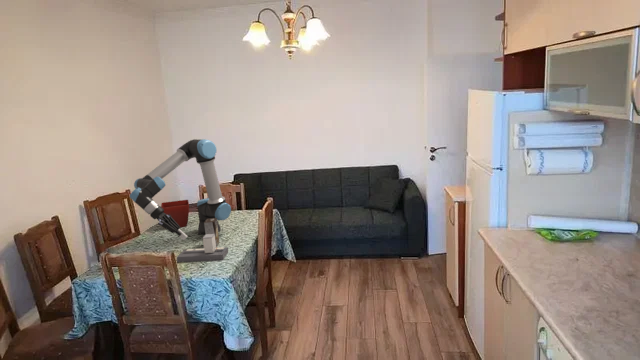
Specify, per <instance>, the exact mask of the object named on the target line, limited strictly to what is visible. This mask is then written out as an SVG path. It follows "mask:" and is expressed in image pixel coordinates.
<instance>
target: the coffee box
mask: <svg viewBox="0 0 640 360" xmlns="http://www.w3.org/2000/svg"><path fill="white" fill-rule="evenodd" d="M217 221H218V220H217V218H210V219H206V221H205V222H204V226H205V234H215V241H216V248H218V246H219V244H220V236H219V232H218V225H217Z"/></svg>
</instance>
